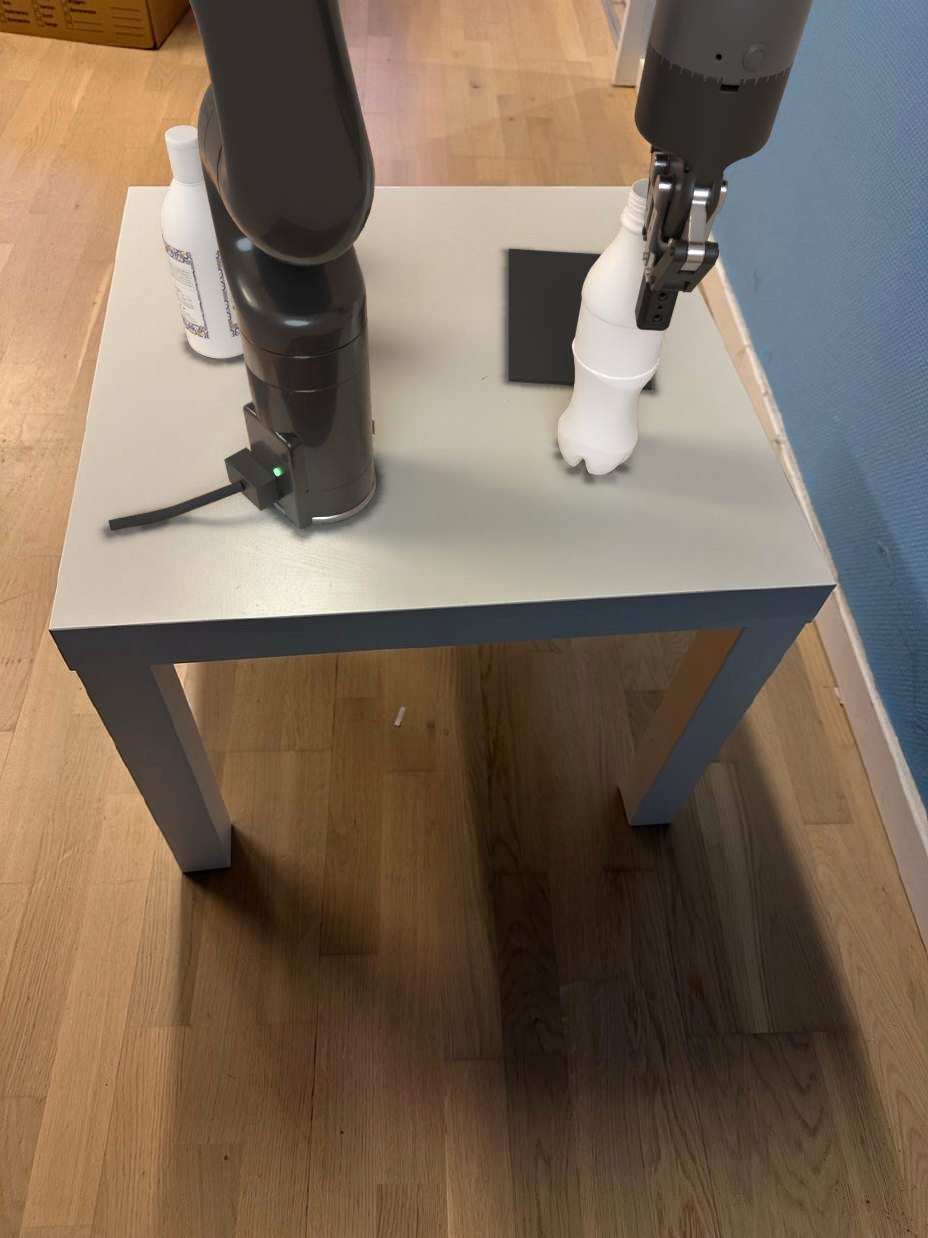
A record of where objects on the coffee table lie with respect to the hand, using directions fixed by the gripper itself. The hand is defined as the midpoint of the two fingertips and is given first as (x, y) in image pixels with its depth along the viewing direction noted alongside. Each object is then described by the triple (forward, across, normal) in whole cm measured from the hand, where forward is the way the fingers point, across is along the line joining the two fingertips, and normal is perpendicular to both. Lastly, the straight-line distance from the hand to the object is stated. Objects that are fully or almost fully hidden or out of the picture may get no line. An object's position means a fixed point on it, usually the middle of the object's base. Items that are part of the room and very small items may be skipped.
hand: (650, 323), depth 60 cm
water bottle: (+21, -9, 0) cm, 23 cm away
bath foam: (+21, -22, -36) cm, 47 cm away
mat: (+21, -29, -1) cm, 36 cm away
